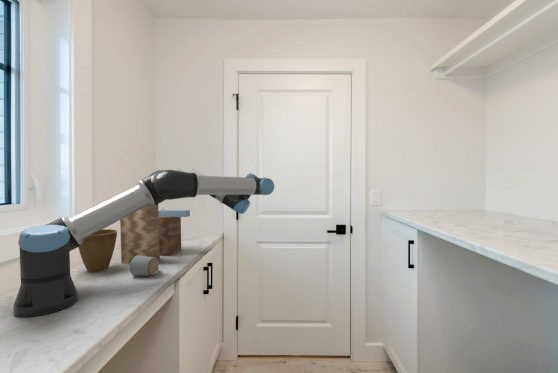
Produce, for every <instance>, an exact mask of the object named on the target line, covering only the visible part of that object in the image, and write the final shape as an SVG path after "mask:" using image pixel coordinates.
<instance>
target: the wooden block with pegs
mask: <svg viewBox="0 0 558 373" xmlns="http://www.w3.org/2000/svg"><path fill="white" fill-rule="evenodd" d="M160 210H166V209H165V208H161V209H160ZM181 218H182V217H159V249H160V257H172V256H174V255H176V254H178V253H179V254H180V252H182V222H181V221H182V219H181Z"/></svg>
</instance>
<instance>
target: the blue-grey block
mask: <svg viewBox="0 0 558 373" xmlns="http://www.w3.org/2000/svg"><path fill="white" fill-rule="evenodd" d="M158 211H159V217H181V218H186V217H190V216H191V212H190V209H165V210H161V209H158Z"/></svg>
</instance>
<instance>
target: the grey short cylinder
mask: <svg viewBox="0 0 558 373" xmlns="http://www.w3.org/2000/svg"><path fill="white" fill-rule="evenodd" d="M159 268H160V267H159V261H157V259H156V258H154V257H147V256H139V255H137V256H135V257H134V258H133V259H132V261H131V264H129V272H130V274H131V275H132V276H137V277H138V276H139V277H152V276H154V275H156V273H157V272H158V271H159Z"/></svg>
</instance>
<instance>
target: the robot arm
mask: <svg viewBox="0 0 558 373" xmlns="http://www.w3.org/2000/svg"><path fill="white" fill-rule="evenodd" d="M274 190H275V182H274V181H273V179H272V178H270V177H258V176H257V175H256V174H254V173H252V172H251V173H248V174H246V176H243V177H242V176H222V175H221V176H218V175H217V176H216V175H215V176H214V175H204V174H202V173H200V172H198V171H197V170H195V169H194V168H192V170H191V171H190V172H186V171H184V170H183V169H180V168H179V167H177V169H175V170H174V169H164V170H162V169H161V170H156V171H153V172H151V174H149V175H147V176H146V177H144V178H141V179H139V180H138V181H137V183H136V185H135V186H134V187H133V188H130V189H128V190H126V191H124V192H121V193H119V194H117V195H116V196H114V197H111V198H109V199H106V200H105V201H102V202H101V203H99V204H97V205H95V206H93V207H91V208H90V207H89V209H87V210H84V211H82V212H79V213H78V214H76V215H74V216H72V217H66V216H62V217H59V218H58V219H55V220H53V221H51V222H49V223H46V224H43V225H37V226H32V227H29V228H26V229H24V230H22V231H21V232H20V234H19V239H18V241H17V242H18V247H19V270H20V286H19V288H18V292H17V294H16V297H15V300H14V303H13V315H15V316H17V317H23V318H25V317H26V318H28V317H38V316H44V315H48V314H53V313H56V312H58V311H61V310H64V309H67V308H68V307H71V306H72V305H74V304H76V303H77V302H78V300H79V292H78V290H77V288H76V285H75V283H74V281H73V278H72V276H71V257H70V256H71V255H70V252H71V251H73V250H75V249H77V248H78V247H79V246H81V245H82V243H83V240H84V239H85V238H87V237H89V236H90V235H92V234H94V233H96V232H98V231H100V230H102V229H106V228H108V227H110V226H111V225H113V224H115V223H117V222H120V220H121V219H123V218H125V217H126V216H128V215H130V214H132V213H134V212H136V211H138V210H140V209H142V208H143V207H145V206H147V205H150V206H155V205H157V204H158V205H159V204H161V203H162V202H164V201H167V200H168V201H169V200H170V201H171V200H177V199H185V198H196V197H197V196H201V195H202V196H204V195H205V196H206V195H207V196H210V197H211V198H213V199H216V201H218V202H219V203H220V204H224V205H225V206H227V207H228V208H229V209H231V210H233V211H234V212H236V213H238V214H241V215H243V214H245V213H246V212H247V210H248V209H249V207H250V205H251V201H250V200H249V199H250V198H251V197H252V196H254V195H255V196H257V195H258V196H261V195H262V196H269V195H272V193H273V192H274Z"/></svg>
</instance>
